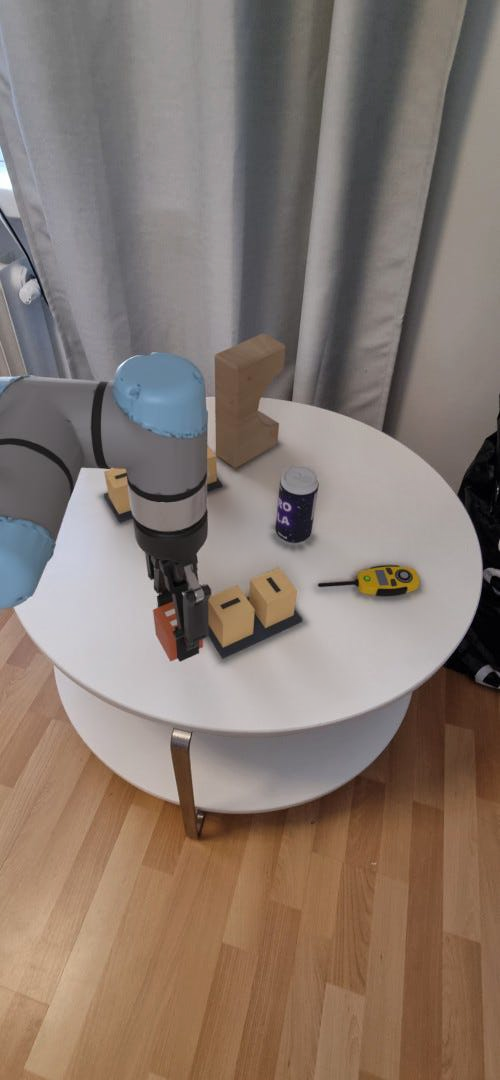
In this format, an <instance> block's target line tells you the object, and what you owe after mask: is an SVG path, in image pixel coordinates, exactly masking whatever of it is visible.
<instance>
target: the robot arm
mask: <svg viewBox="0 0 500 1080" xmlns="http://www.w3.org/2000/svg"><path fill="white" fill-rule="evenodd" d="M208 420H209V411H208V409H207V397H206V384H205V379H204V376H203V374H202V372H201V370H200V369H199V367H197V365H196V364H195V363H194V362H192V361H191V360H189V359H188V358H185V357H183V356H181V355H178V354H174V353H171V352H161V351H160V352H159V351H158V352H156V351H155V352H151V353H149V354H148V355H143V354H137V355H134V356H132V357H131V356H130V358H128V359H126V360H125V361H123V362H122V363H121V364H120V365H119V366H118V367H117V368H116V371H115V373H114V376H113V380H109V381H102V380H91V379H90V380H89V379H78V378H77V379H75V378H63V377H61V378H60V377H48V376H47V377H46V376H37V375H32V374H31V375H29V374H23V375H22V376H21V375H17V376H0V611H2V610H8V609H12V608H16V607H17V606H20V605H22V604H23V603H24V602H26V601H27V600H28V599H29V598H31V597H33V596H34V594H35V592H36V589H37V588H38V586H39V583H40V581H41V579H42V576H43V574H44V571H45V570H46V567H47V564H48V563H49V561H51V559H52V558H53V556H54V555H55V554H54V553H55V549H56V546H57V543H56V542H57V540H58V537H59V533H60V532H61V531H60V530H61V527H62V524H63V521H64V518H65V515H66V512H67V509H68V505H69V502H70V500H71V498H72V495H73V493H74V490H75V487H76V484H77V482H78V478H79V476H80V473H81V470H82V469H99V470H100V469H102V470H111V469H114V468H117V469H126V472H127V485H128V493H129V500H130V508H131V511H132V517H133V518H132V524H133V530H134V539H135V541H136V543H137V545H138V547H139V548H140V549H141V550H142V551H143V552H144V555H145V563H146V571H147V577H148V579H149V580H150V581H153V590H154V592H156V594H158V595H157V596H156V601H157V608H158V607H161V606H163V605H166V604H168V603H171V602H173V603H174V608H175V614H176V619H177V624H178V626H177V627H175V631H172V632H173V635H174V637H175V639H176V648H177V658H178V659H177V660H178V662H180V663H181V662H183V661H185V660H187V659H189V658H192V657H194V656H196V655H199V654H200V649H199V641H200V640H202V639H203V640H205V639H207V638H209V598H210V596H212V588H211V587H210V586H209V584H208V583H205V584H204V583H200V582H199V575H198V563H199V559H198V553H199V551H200V550H201V548H202V547H203V546H204V545H205V543H206V542H207V539H208V533H209V511H208V492H207V479H208V478H209V477H210V474H209V472H208V471H207V445H208V438H209V437H208V434H209V433H208V426H209V424H208V423H209V421H208Z"/></svg>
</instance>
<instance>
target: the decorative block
mask: <svg viewBox="0 0 500 1080" xmlns="http://www.w3.org/2000/svg"><path fill="white" fill-rule="evenodd" d="M285 355H286V345H285V344H284V343H282V342H281V341H279V340H277V339H275V338H273V337H271V336H269V335H267V334H266V333H263V332H262V333H260V334H258V335H256V336H253V337H252V338H249V339H247V340H244V341H242V342H240V343H238V344H236V345H233V346H231V347H229V348H227V349H224V350H222V351H220V352H218V353H215V355H214V411H215V412H214V415H215V416H214V417H215V418H214V419H215V420H214V421H215V455H216V457H219V458H220V459H222V460H223V461H224V462H225V463H227V464H228V465H230V466H231V467H233V468H234V469H237V468H238V467H240V466H242V465H244V464H245V463H247V462H249V461H251V460H253V459H254V458H256V457H257V456H259V455H261V454H262V453H264V452H266V451H267V450H269V449H271V448H273V447H274V446H276V445H278V441H279V429H280V428H279V427H280V423H279V422H278V421H276V420H274V419H273V418H271V417H270V416H268V415H267V414H265V413H263V412H262V411H260V410H259V408H260V407H259V406H260V401H261V399H262V397H263V395H264V393H265V391H266V389H267V388H268V386H269V385H270V384H271V382H272V381H273V380H274V379H275V377H277V376H278V375H279V374H280V373H282V372H283V371H284V367H285Z"/></svg>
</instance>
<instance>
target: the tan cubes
mask: <svg viewBox="0 0 500 1080" xmlns="http://www.w3.org/2000/svg"><path fill="white" fill-rule="evenodd" d="M217 463H218V462H217V455H216V452H214V451H213V450H212V448H211V447H210V446H209V444H207V471H208V472H209V474H210V477H209V478H208V479H207V493H209V492H212V491H215V490H218V489H221V488H223V486H224V485H223V483H222V482H221V481H220V479H219V478H218V476H217V475H218V473H217V472H218V470H217ZM103 473H104V478H105V479H104V480H105V483H106V484H105V485H106V489H107V492H106V493H105V492H104V493H103V497H104V499H105V500H106V503H107V505H108V506H109V507H110V509H111V511H112V513H113V514H114V516H115V518H116V520H117V522H118V523H123V522H126V521H128V520H131V519H132V520H133V517H132V511H131V508H130V500H129V493H128V485H127V472H126V469H117V468H111V469H107V470H105V471H103Z"/></svg>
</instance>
